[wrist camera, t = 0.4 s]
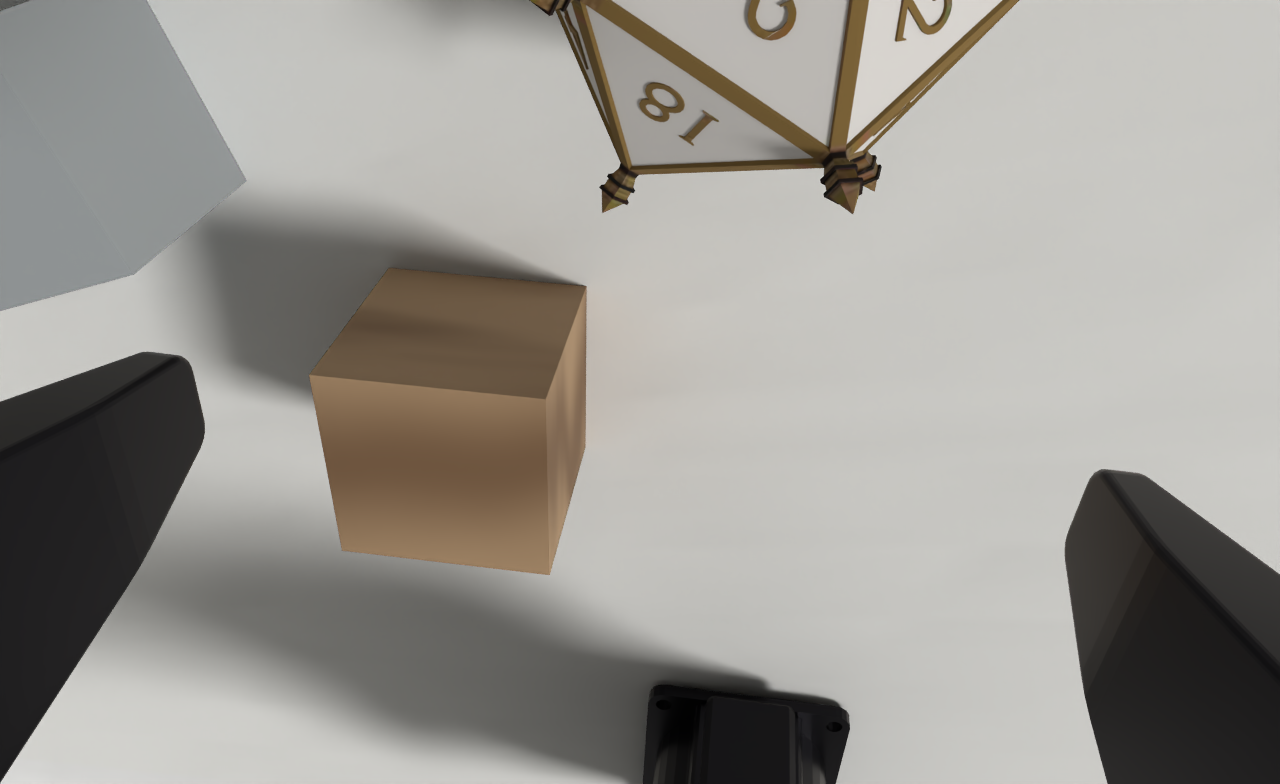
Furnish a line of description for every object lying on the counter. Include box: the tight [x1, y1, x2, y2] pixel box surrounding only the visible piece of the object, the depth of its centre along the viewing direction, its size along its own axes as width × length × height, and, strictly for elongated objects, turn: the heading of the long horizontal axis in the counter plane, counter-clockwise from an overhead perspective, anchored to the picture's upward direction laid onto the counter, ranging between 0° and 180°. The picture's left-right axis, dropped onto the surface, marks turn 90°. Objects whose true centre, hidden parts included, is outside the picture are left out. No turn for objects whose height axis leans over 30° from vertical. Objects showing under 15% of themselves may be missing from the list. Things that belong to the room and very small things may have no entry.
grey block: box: [0, 0, 247, 311], centre depth 21 cm, size 5×5×5 cm
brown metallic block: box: [309, 268, 586, 575], centre depth 23 cm, size 5×5×5 cm
